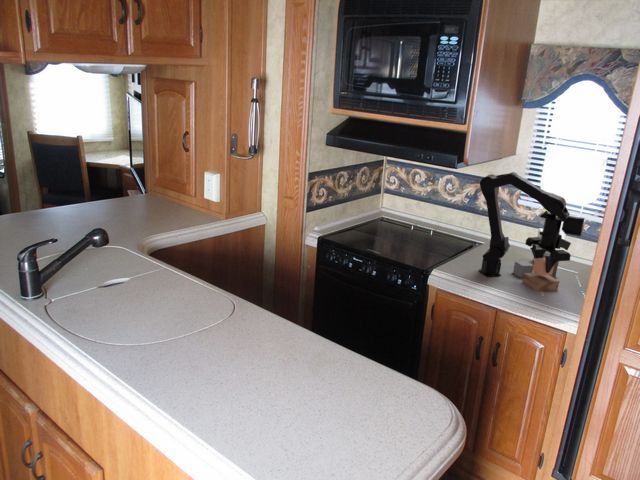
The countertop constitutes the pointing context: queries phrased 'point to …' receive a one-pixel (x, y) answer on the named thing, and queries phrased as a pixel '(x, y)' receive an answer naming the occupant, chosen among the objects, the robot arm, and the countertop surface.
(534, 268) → the terracotta cube
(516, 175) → the robot arm
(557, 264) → the swatch sign
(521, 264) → the slate cube
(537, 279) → the base block
